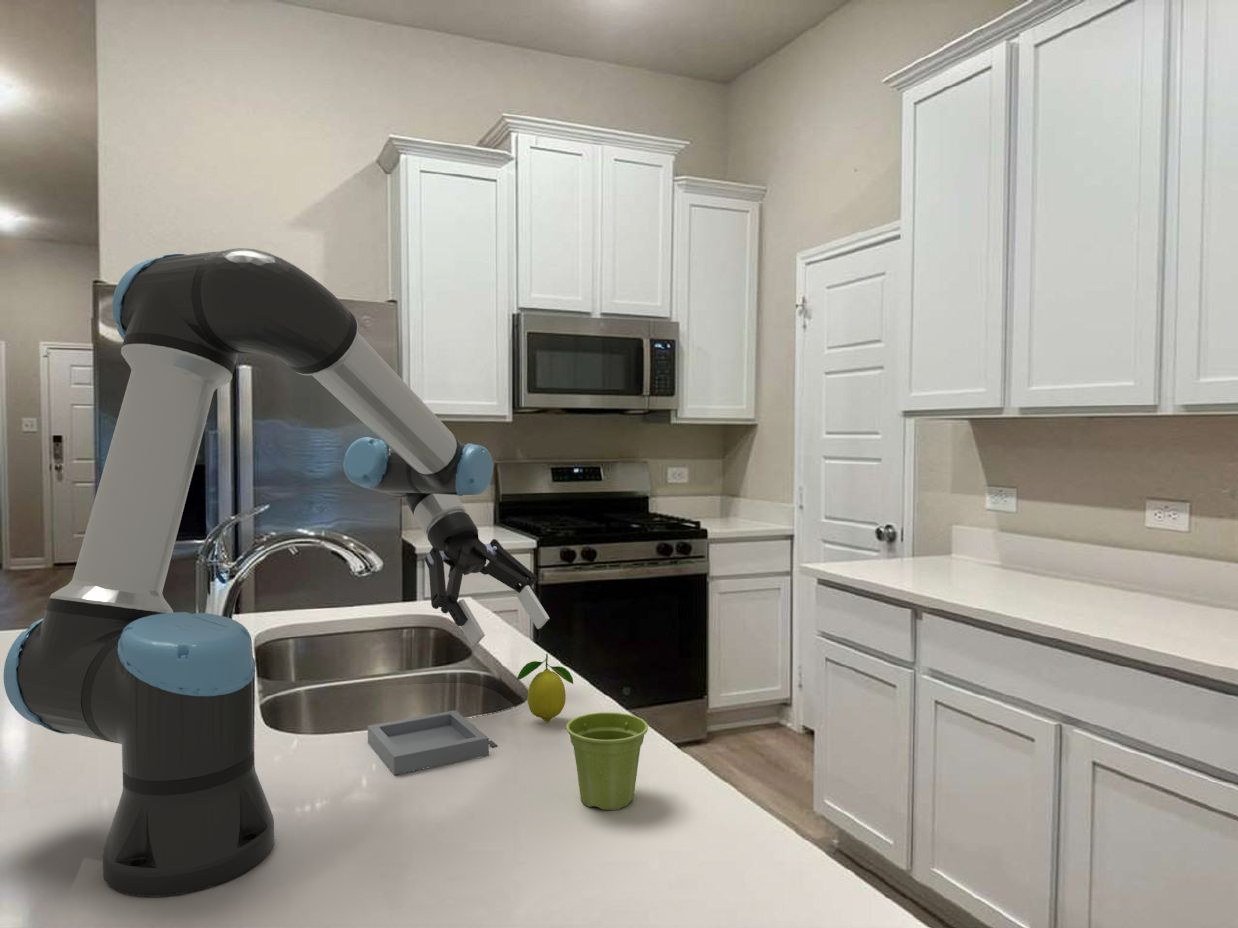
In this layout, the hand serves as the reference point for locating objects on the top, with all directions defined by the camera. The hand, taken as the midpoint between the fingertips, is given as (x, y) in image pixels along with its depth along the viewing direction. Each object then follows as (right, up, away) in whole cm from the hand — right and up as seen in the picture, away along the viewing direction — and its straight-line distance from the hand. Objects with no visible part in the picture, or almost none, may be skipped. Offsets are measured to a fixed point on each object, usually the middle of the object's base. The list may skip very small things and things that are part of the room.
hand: (512, 632), depth 126 cm
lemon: (+5, -12, -5) cm, 14 cm away
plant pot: (+15, -13, -30) cm, 36 cm away
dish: (-9, -12, -15) cm, 22 cm away
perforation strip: (-3, -12, -11) cm, 16 cm away
